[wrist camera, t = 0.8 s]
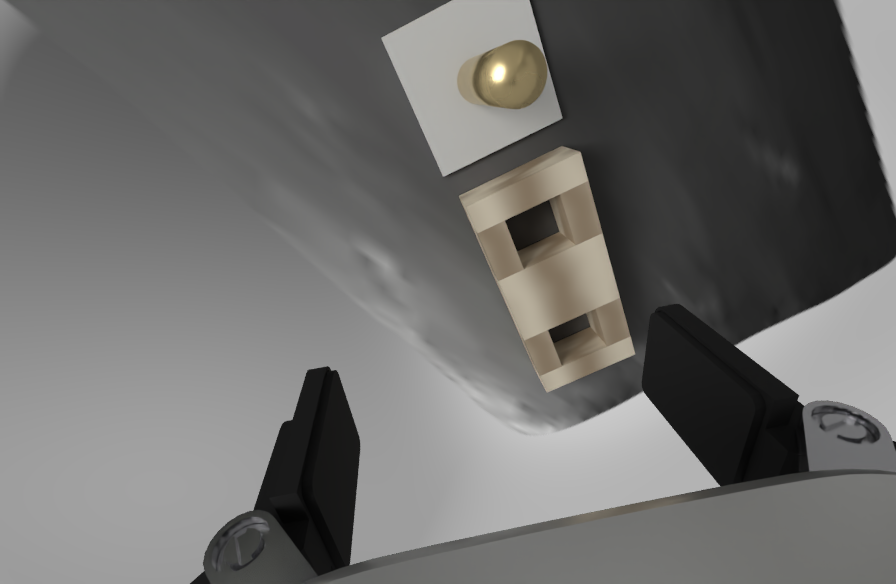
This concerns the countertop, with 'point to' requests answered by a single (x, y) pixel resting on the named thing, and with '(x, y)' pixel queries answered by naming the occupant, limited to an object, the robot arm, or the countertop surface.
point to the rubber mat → (436, 70)
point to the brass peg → (504, 76)
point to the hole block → (553, 267)
